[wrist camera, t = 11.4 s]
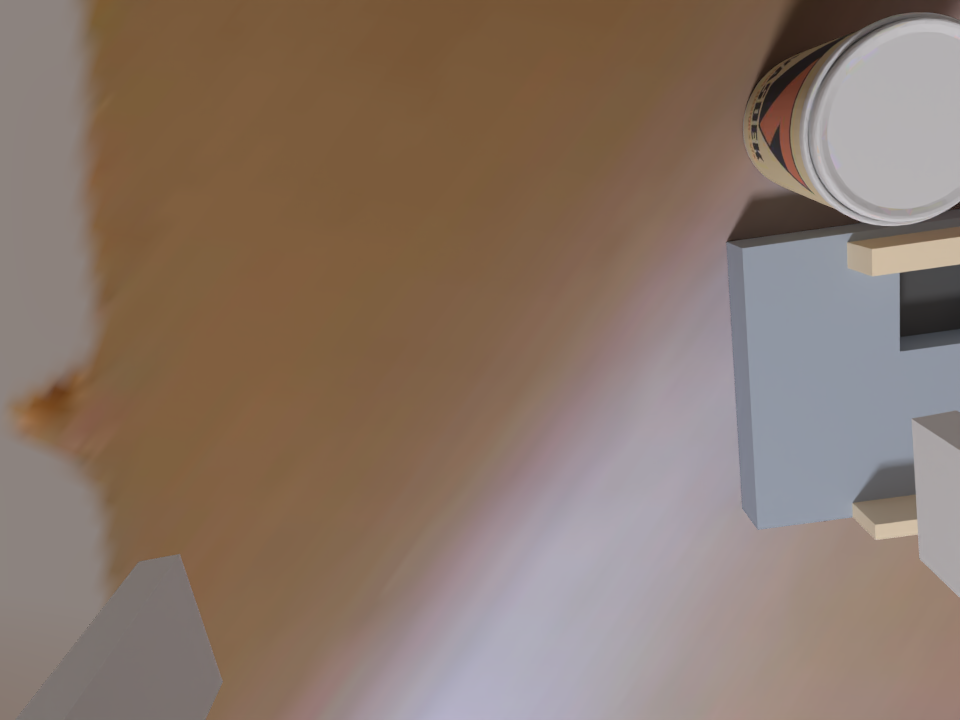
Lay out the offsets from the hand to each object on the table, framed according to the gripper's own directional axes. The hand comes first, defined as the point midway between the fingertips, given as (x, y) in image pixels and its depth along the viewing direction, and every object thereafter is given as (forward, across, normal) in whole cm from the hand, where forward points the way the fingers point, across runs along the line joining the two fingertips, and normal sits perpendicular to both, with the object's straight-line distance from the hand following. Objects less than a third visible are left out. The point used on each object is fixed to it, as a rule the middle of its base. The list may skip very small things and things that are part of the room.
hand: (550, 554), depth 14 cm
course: (+36, +25, -12) cm, 46 cm away
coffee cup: (+37, +19, +4) cm, 42 cm away
